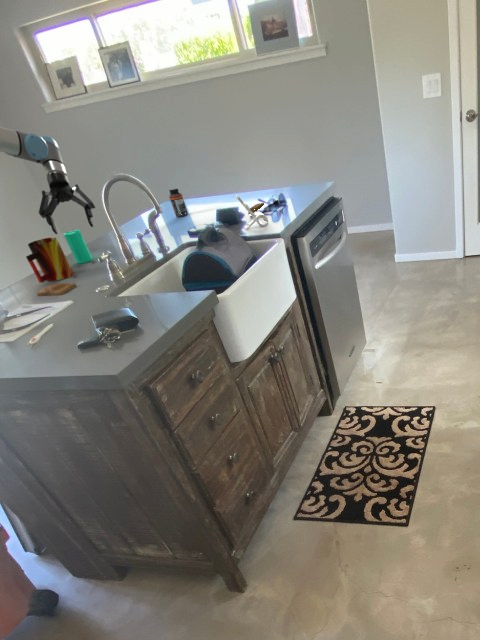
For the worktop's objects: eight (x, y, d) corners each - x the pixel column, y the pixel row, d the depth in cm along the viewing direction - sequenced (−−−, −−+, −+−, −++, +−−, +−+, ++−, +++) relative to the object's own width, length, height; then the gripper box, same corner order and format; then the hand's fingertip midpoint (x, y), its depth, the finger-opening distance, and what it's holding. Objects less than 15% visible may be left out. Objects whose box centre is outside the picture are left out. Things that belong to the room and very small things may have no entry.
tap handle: (278, 193, 246) (252, 209, 225) (280, 201, 248) (254, 217, 227) (273, 194, 247) (246, 210, 226) (274, 201, 249) (248, 218, 228)
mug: (41, 286, 184) (21, 250, 176) (49, 275, 194) (31, 240, 186) (69, 281, 186) (51, 244, 178) (75, 270, 196) (58, 235, 188)
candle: (95, 257, 207) (80, 224, 199) (87, 262, 202) (71, 229, 194) (82, 259, 208) (66, 226, 200) (74, 264, 203) (57, 230, 195)
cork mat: (37, 296, 176) (35, 293, 175) (52, 287, 182) (51, 284, 181) (61, 294, 174) (60, 291, 173) (76, 286, 180) (75, 283, 179)
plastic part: (269, 225, 213) (261, 193, 206) (245, 230, 211) (237, 197, 204) (265, 221, 219) (258, 190, 211) (242, 226, 217) (234, 194, 209)
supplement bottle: (174, 216, 250) (165, 189, 243) (186, 213, 252) (177, 186, 245) (178, 218, 246) (168, 190, 239) (190, 215, 248) (181, 187, 241)
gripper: (94, 179, 209) (109, 227, 208) (29, 191, 204) (44, 240, 204) (86, 165, 201) (102, 215, 200) (18, 177, 197) (34, 228, 196)
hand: (73, 228), depth 202 cm, fingers open, 13 cm apart
